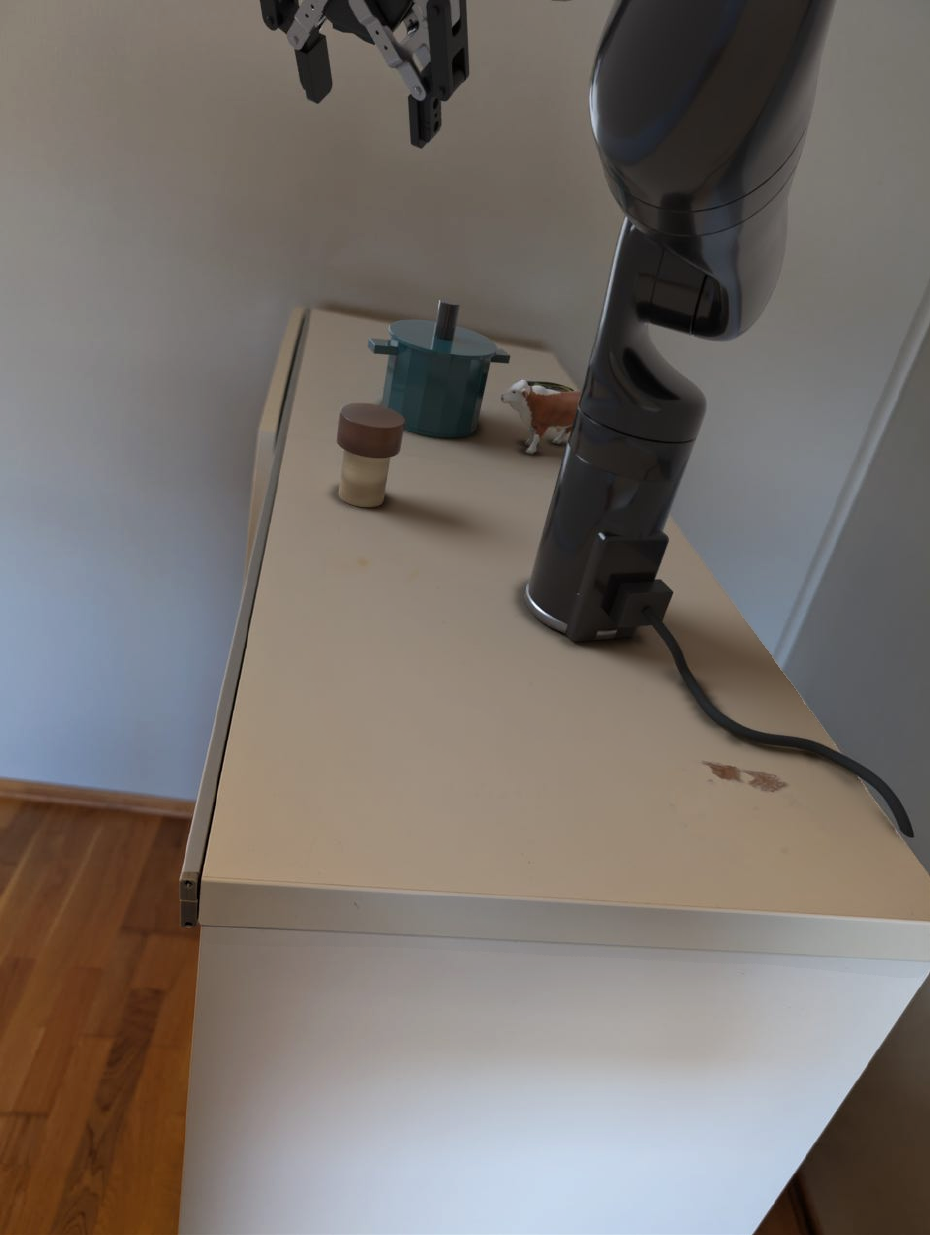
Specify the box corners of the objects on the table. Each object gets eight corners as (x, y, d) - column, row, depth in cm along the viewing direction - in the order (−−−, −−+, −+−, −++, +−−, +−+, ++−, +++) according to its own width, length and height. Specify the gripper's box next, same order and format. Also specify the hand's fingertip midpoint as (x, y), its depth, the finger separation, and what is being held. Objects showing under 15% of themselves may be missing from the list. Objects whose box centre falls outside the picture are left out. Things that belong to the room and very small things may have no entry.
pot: (510, 440, 105) (529, 363, 100) (376, 435, 97) (389, 352, 92) (473, 403, 113) (488, 331, 108) (347, 396, 106) (357, 319, 101)
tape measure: (555, 405, 119) (562, 379, 118) (580, 424, 114) (587, 397, 112) (512, 403, 116) (519, 376, 115) (535, 423, 112) (542, 395, 110)
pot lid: (512, 368, 99) (523, 324, 96) (408, 361, 93) (416, 313, 91) (470, 333, 108) (478, 291, 105) (373, 324, 103) (379, 280, 100)
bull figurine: (486, 439, 103) (501, 373, 99) (579, 441, 109) (597, 378, 105) (502, 455, 100) (518, 387, 96) (597, 455, 106) (616, 391, 102)
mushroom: (399, 511, 83) (414, 429, 78) (339, 511, 80) (350, 426, 76) (380, 483, 87) (393, 404, 83) (323, 483, 85) (332, 401, 80)
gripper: (187, -176, 45) (256, 113, 60) (419, -92, 42) (430, 190, 57) (272, -241, 47) (317, 52, 62) (496, -166, 45) (487, 122, 60)
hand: (371, 118), depth 60 cm, fingers open, 8 cm apart
